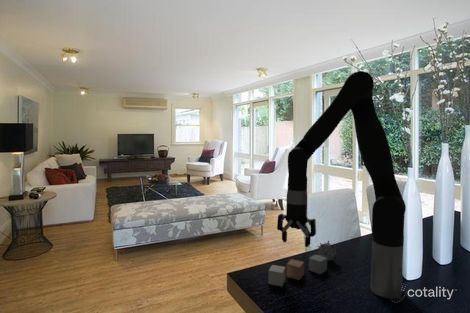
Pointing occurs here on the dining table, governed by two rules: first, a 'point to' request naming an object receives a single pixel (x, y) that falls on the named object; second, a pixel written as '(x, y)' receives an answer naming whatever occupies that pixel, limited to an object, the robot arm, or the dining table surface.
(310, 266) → the blue-grey cube
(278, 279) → the cream cube
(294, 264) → the terracotta cube
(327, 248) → the small potted plant
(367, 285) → the dining table surface
